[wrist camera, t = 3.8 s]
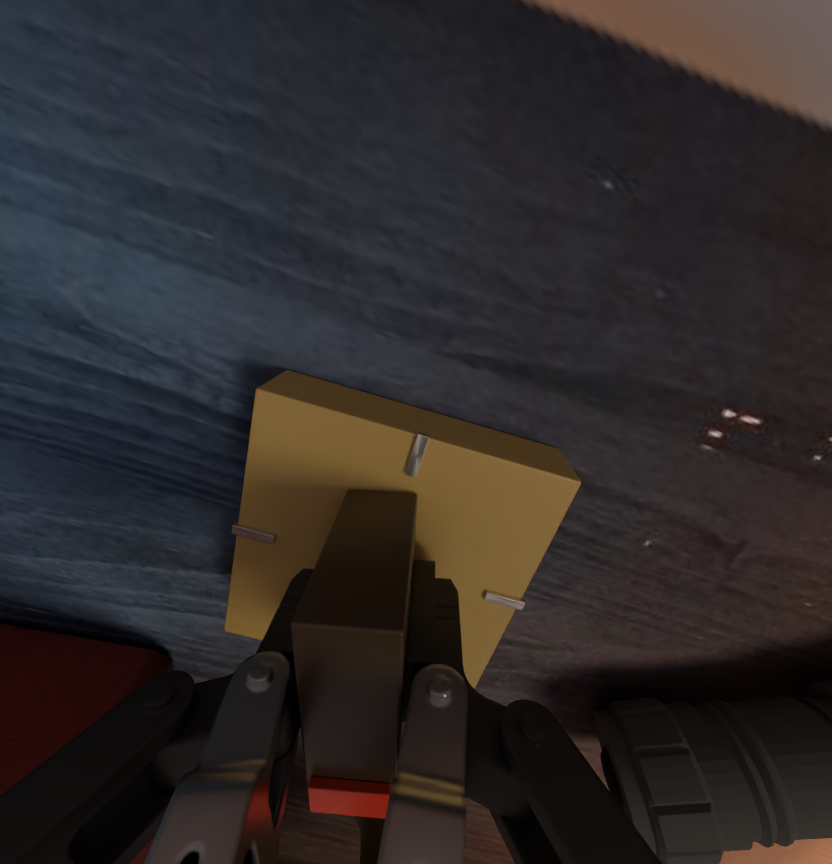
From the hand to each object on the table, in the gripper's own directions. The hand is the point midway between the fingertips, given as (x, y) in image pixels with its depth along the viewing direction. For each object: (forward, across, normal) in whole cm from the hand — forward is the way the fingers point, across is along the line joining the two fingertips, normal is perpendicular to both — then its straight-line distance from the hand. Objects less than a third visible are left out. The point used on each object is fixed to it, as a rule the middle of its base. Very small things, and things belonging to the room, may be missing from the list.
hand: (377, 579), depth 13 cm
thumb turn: (+1, 0, 0) cm, 1 cm away
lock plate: (+3, 0, 0) cm, 3 cm away
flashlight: (+3, -18, +8) cm, 20 cm away
